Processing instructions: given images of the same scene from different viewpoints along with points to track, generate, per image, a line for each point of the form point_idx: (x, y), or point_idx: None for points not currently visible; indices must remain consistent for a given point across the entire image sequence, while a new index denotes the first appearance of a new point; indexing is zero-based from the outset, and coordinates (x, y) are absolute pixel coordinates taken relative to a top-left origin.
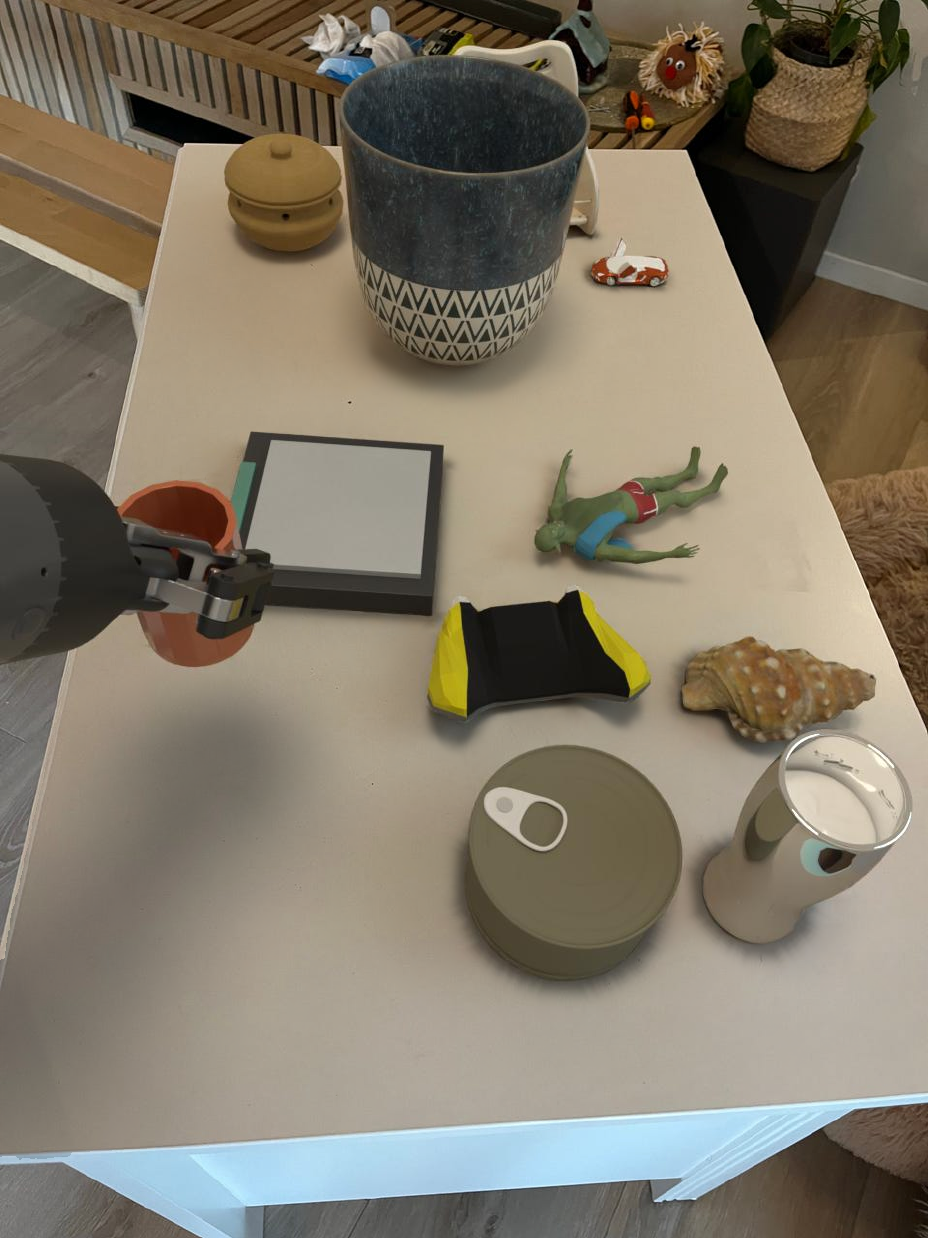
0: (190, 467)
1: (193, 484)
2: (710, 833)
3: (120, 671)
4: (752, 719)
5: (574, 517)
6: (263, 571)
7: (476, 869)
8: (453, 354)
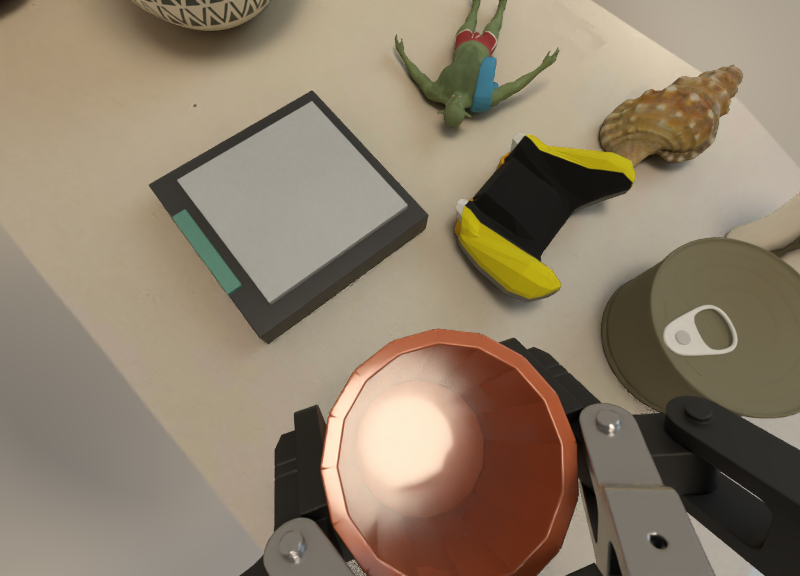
0: (122, 252)
1: (391, 353)
2: (706, 237)
3: (255, 464)
4: (688, 146)
5: (458, 83)
6: (750, 432)
7: (719, 402)
8: (252, 5)
